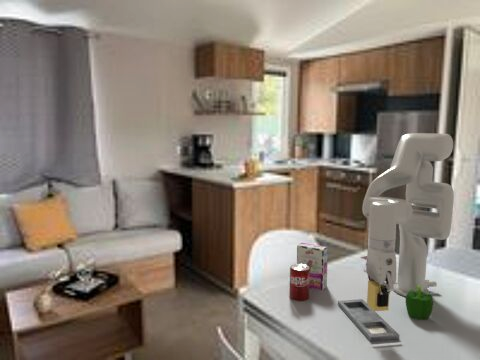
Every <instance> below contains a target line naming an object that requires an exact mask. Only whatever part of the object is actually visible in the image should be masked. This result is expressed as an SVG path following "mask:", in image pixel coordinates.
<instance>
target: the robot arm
mask: <svg viewBox="0 0 480 360" xmlns="http://www.w3.org/2000/svg"><path fill="white" fill-rule="evenodd" d="M453 149H454V141H453V137H452V136H451V135H450V134H449V133H427V132H426V133H425V132H421V133H420V132H415V133H413V132H411V133H406V134H404V135H402V136H400V139H399V140H398V144H397V147H396V149H395V153H394V155H393V159H392V161H391V163H390V167H389V169H387V170H386V171H384V172H382V173H381V174H380V175H378V176H377V177H376V178H375V179H373V180H372V182H370V184H369V185H368V188H367V189H366V193H365V196H364V199H363V200H362V208H361V209H362V215H363V216H364V217H365V218H367V219H368V220H369V221H368V236H367V237H368V238H367V249H368V253H367V255H366V256H367V260H365V261H366V262H365V272H366V274H367V279H368V281H376V282H377V283H379V293H378V295H377V306H378V307H387V306H388V297H389V298H390V293H391V291H394V292H395V293H397V294H399V295H401V296H404V297H406V296H407V294H408V292H409V291H410V290H412V291H418V288H417V287H416V286H417V285H418V286H420V287H421V291H422V292H424V293H425V294H429V295H430V292H429V291H430V290H429V289H428V288H432V287H438V286H437V285H438V284H437V281H433V280H432V281H430V279H426V272H427V261H428V260H427V258H428V247H427V244H426V242H425V240H424V239H423V238H427V239H428V238H429V239H434V240H441V241H443V240H446V239H448V238H449V237H450V235H451V230H452V225H453V224H452V222H453V221H452V220H453V212H454V201H455V199H454V198H455V192H454V188H453V187H452V185H450V184H449V183H445V182H435V181H433V176H434V175H433V174H434V167H433V164H432V163H431V162H441V161H444V160H445V159H447V158H449V157H450V156H451V154H452V152H453ZM405 185H406V188H405V199H403V198H395V197H390V196H380V195H382V194H383V193H384V192H386V191H388V190H390V189H393V188H399V187H401V186H405ZM413 206H414V207H420V208H427V209H428V208H429V209H436V210H437V212H435V211H427V210H421V209H413ZM397 225H398V228H399V254H398V268H397V255H396V251H395V250H396V238H397V237H396V236H397ZM397 269H398V271H397ZM383 282H385V283H383ZM382 286H386V287H384V288H383V289H382Z"/></svg>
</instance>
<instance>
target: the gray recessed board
mask: <svg viewBox="0 0 480 360" xmlns="http://www.w3.org/2000/svg"><path fill="white" fill-rule="evenodd" d="M337 305H338V306H339V308H340V309H341V310H342V312H343V313H345V314H346V316H347V317H348V318H349V319H350V321H352V323H353V324H354V325H355V326H356V327H357V328H358V329H359V331H360V332H361V333H362V334H363V335H364V337H365V338H366V339H367V340H368V341H369V343H375V342H384V341H385V342H387V341H398V340H400V334H399V333H398V332H397V331H396V330H395V329H394V328H393V327H392V326H391V325H390V324H389V323H387V322H386V320H385V319H383V318H382V317H381V316H380V315H379V314H378V313H377V311H373V310H372V309H371V308H370V307H369V306H368V305H367V301H365V300H364V299H363V298H361V299H359V298H358V299H347V300H346V299H345V300H338V301H337Z"/></svg>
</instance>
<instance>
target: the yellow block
mask: <svg viewBox="0 0 480 360" xmlns="http://www.w3.org/2000/svg"><path fill="white" fill-rule="evenodd" d="M383 283H386V281H384V282H383ZM384 287H386V286H382V289H383V288H384ZM378 293H379V283H377V282H376V281H369V280H368V281H367V299H366V303H367V305H368V306H369V307H370V308H371V309H372V310H373V311H375V312H384V311H389V305H390V304H389V303H390V302H389V301H390V296H389V297H388V306H387V307H378V306H377V295H378Z"/></svg>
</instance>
